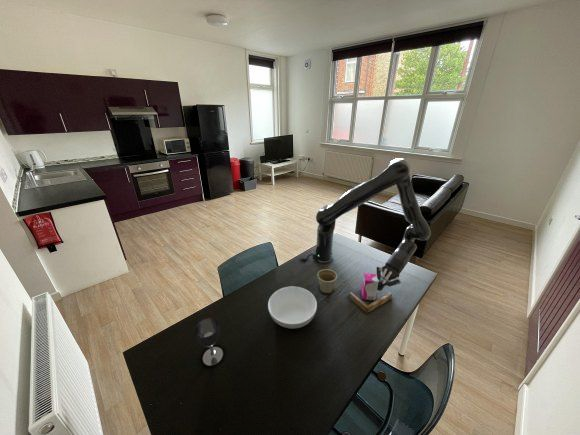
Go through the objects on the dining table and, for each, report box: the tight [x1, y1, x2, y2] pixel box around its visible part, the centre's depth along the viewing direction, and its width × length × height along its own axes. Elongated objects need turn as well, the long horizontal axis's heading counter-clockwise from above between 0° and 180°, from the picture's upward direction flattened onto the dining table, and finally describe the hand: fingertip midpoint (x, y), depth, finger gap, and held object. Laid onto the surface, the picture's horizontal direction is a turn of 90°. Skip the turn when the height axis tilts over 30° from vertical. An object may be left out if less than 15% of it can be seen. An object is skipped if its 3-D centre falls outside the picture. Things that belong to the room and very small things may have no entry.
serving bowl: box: [267, 285, 318, 330], centre depth 103 cm, size 21×21×7 cm
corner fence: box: [348, 292, 393, 314], centre depth 112 cm, size 16×11×3 cm, turn 121°
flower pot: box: [317, 268, 338, 294], centre depth 117 cm, size 9×9×9 cm
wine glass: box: [193, 317, 224, 367], centre depth 84 cm, size 8×8×15 cm
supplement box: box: [361, 272, 379, 302], centre depth 112 cm, size 6×6×12 cm
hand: (377, 290), depth 112 cm, fingers closed
